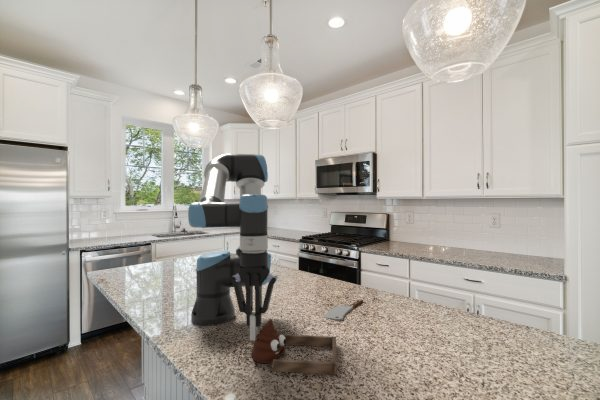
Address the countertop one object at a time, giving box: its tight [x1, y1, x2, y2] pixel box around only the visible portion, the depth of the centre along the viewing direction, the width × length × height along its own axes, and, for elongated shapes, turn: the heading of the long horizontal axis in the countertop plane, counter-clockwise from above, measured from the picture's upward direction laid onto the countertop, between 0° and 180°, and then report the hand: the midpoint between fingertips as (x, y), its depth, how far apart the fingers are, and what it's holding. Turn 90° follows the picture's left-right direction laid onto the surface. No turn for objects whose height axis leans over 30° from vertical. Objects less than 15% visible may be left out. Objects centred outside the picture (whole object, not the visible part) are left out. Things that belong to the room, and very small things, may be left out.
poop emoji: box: [250, 318, 286, 364], centre depth 79 cm, size 10×8×9 cm
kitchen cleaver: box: [321, 299, 364, 322], centre depth 114 cm, size 24×1×10 cm
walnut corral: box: [272, 333, 338, 376], centre depth 78 cm, size 16×15×2 cm
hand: (254, 338), depth 79 cm, fingers closed
